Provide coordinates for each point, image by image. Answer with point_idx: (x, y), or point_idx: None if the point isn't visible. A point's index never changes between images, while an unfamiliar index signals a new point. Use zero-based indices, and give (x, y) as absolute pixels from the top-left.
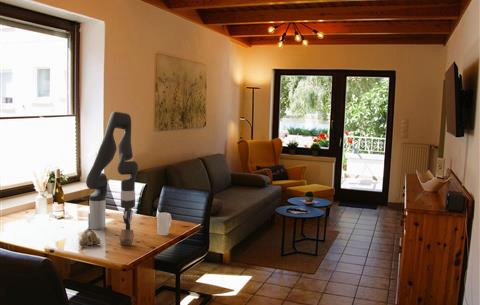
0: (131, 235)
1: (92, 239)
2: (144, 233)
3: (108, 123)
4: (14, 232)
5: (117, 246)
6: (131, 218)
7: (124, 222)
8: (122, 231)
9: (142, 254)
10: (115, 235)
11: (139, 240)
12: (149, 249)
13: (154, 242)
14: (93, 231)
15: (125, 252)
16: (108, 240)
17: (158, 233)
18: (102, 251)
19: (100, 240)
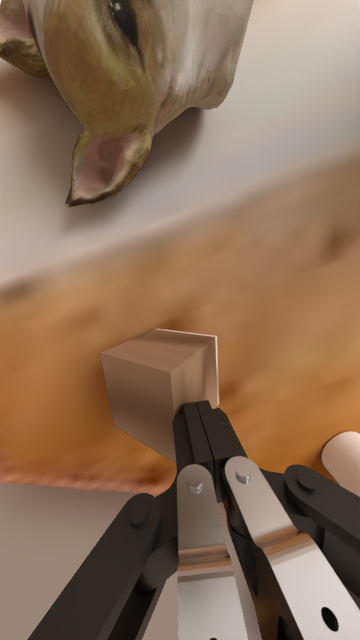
0: (136, 438)
1: (67, 104)
2: (356, 375)
3: None
4: None
5: (126, 318)
6: (324, 555)
7: (111, 525)
8: (151, 380)
9: (35, 473)
10: (329, 235)
11: (245, 390)
12: (117, 474)
13: None
14: (229, 18)
15: (36, 393)
16: (230, 223)
17: (336, 445)
18: (6, 261)
19: (120, 187)
